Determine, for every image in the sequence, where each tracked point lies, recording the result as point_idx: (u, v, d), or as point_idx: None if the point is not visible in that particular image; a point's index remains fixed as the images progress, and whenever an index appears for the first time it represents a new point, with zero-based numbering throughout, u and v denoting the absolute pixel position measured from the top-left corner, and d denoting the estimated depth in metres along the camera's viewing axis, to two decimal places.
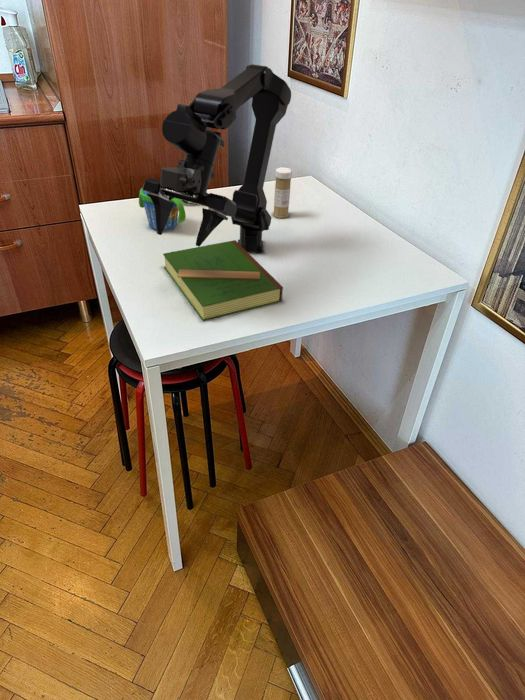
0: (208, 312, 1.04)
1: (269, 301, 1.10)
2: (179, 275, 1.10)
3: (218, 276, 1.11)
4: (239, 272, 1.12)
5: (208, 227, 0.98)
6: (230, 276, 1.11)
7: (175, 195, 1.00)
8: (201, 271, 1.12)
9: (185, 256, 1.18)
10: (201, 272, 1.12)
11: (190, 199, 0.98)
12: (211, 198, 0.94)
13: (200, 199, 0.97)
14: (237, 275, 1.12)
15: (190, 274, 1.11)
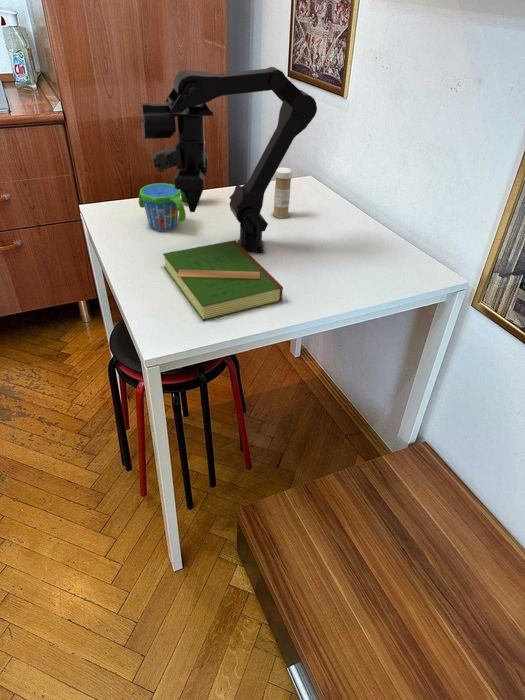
0: (208, 312, 1.04)
1: (269, 301, 1.10)
2: (179, 275, 1.10)
3: (218, 276, 1.11)
4: (239, 272, 1.12)
5: (191, 197, 1.14)
6: (230, 276, 1.11)
7: None
8: (201, 271, 1.12)
9: (185, 256, 1.18)
10: (201, 272, 1.12)
11: None
12: (175, 176, 1.09)
13: None
14: (237, 275, 1.12)
15: (190, 274, 1.11)
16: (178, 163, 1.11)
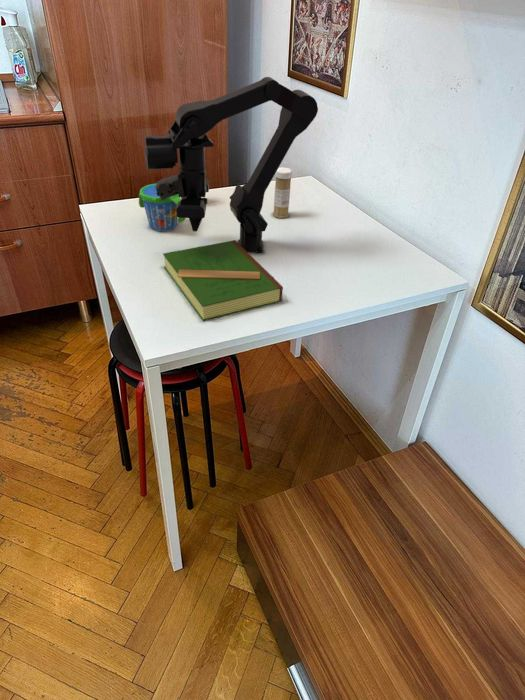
0: (208, 312, 1.04)
1: (269, 301, 1.10)
2: (179, 275, 1.10)
3: (218, 276, 1.11)
4: (239, 272, 1.12)
5: (194, 217, 1.20)
6: (230, 276, 1.11)
7: None
8: (201, 271, 1.12)
9: (185, 256, 1.18)
10: (201, 272, 1.12)
11: None
12: (177, 205, 1.13)
13: None
14: (237, 275, 1.12)
15: (190, 274, 1.11)
16: (180, 192, 1.15)
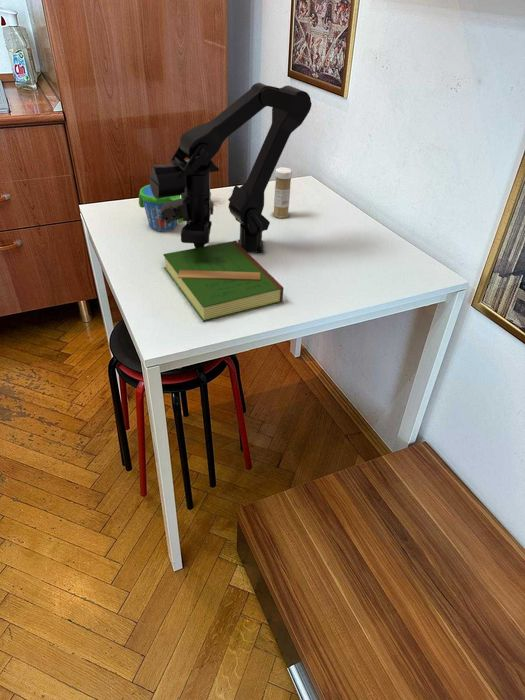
0: (209, 313, 1.04)
1: (270, 302, 1.10)
2: (179, 276, 1.10)
3: (218, 277, 1.11)
4: (239, 273, 1.12)
5: None
6: (230, 277, 1.11)
7: None
8: (202, 272, 1.12)
9: (185, 256, 1.18)
10: (202, 273, 1.12)
11: None
12: (182, 230, 1.14)
13: None
14: (237, 275, 1.11)
15: (190, 275, 1.11)
16: (185, 216, 1.16)
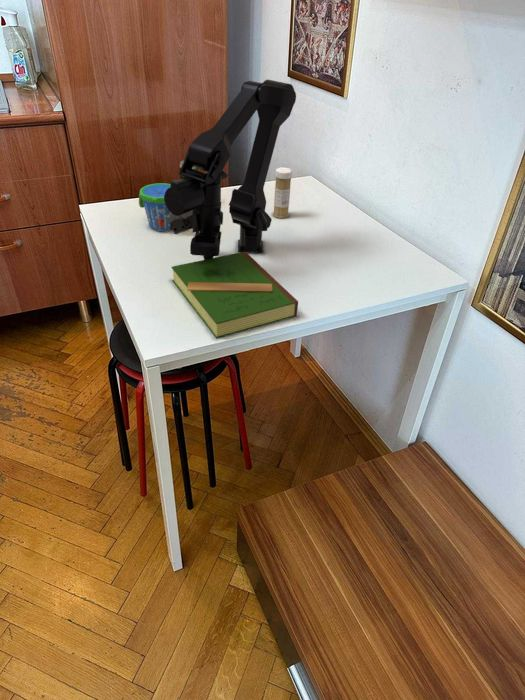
0: (222, 330, 1.00)
1: (284, 316, 1.06)
2: (189, 288, 1.06)
3: (229, 289, 1.07)
4: (251, 285, 1.09)
5: None
6: (241, 289, 1.07)
7: None
8: (211, 284, 1.08)
9: (194, 269, 1.14)
10: (211, 285, 1.08)
11: None
12: (191, 241, 1.10)
13: None
14: (248, 287, 1.08)
15: (200, 287, 1.07)
16: (194, 227, 1.11)
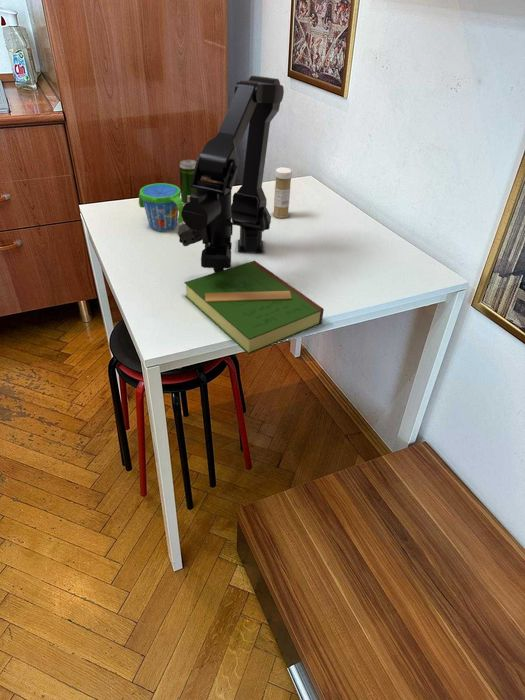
0: (254, 345, 0.97)
1: (310, 325, 1.04)
2: (207, 299, 1.03)
3: (248, 298, 1.04)
4: (269, 293, 1.06)
5: None
6: (260, 297, 1.05)
7: None
8: (229, 294, 1.05)
9: (209, 282, 1.09)
10: (229, 295, 1.05)
11: None
12: None
13: None
14: (267, 296, 1.06)
15: (218, 298, 1.04)
16: (204, 238, 1.08)
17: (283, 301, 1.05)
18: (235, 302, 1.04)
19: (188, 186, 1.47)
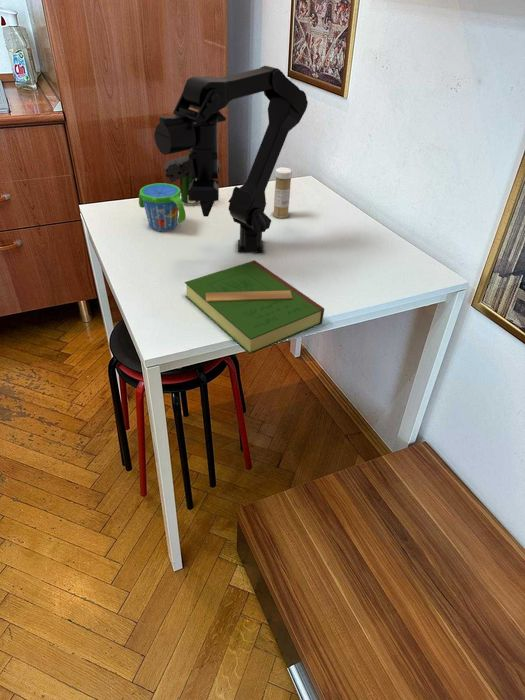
0: (255, 344, 0.96)
1: (311, 325, 1.04)
2: (207, 299, 1.03)
3: (249, 298, 1.04)
4: (269, 292, 1.06)
5: (205, 201, 1.12)
6: (261, 297, 1.05)
7: None
8: (230, 294, 1.05)
9: (209, 282, 1.09)
10: (230, 294, 1.05)
11: None
12: None
13: None
14: (268, 295, 1.06)
15: (219, 297, 1.04)
16: (191, 173, 1.07)
17: (284, 301, 1.05)
18: (236, 302, 1.04)
19: (188, 186, 1.47)
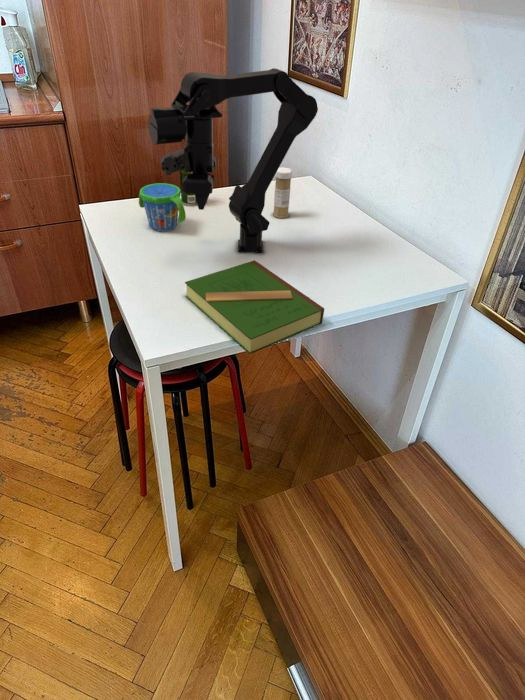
0: (255, 344, 0.96)
1: (311, 325, 1.04)
2: (207, 299, 1.03)
3: (249, 298, 1.04)
4: (269, 292, 1.06)
5: (200, 194, 1.15)
6: (261, 297, 1.05)
7: None
8: (230, 294, 1.05)
9: (209, 282, 1.09)
10: (230, 294, 1.05)
11: None
12: (183, 180, 1.08)
13: None
14: (268, 295, 1.06)
15: (219, 297, 1.04)
16: (186, 166, 1.09)
17: (284, 301, 1.05)
18: (236, 302, 1.04)
19: None
